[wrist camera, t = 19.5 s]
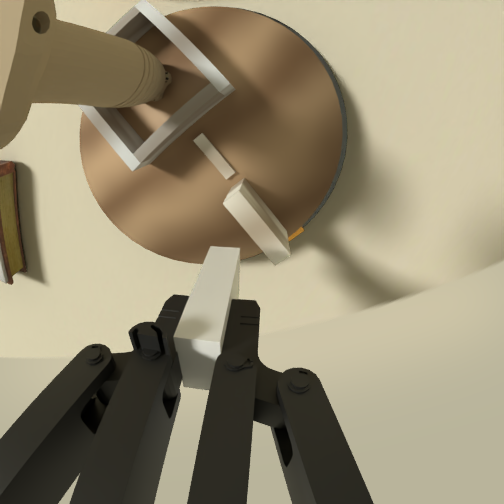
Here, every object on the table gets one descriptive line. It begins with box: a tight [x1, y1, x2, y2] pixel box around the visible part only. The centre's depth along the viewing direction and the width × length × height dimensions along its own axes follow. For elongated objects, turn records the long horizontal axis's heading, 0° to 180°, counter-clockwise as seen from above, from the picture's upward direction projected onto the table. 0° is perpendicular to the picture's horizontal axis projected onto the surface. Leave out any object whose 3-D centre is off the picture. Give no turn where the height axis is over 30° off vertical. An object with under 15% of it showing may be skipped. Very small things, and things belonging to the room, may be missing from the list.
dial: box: [78, 0, 343, 266], centre depth 17 cm, size 20×20×6 cm
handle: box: [0, 0, 172, 149], centre depth 10 cm, size 5×6×15 cm
